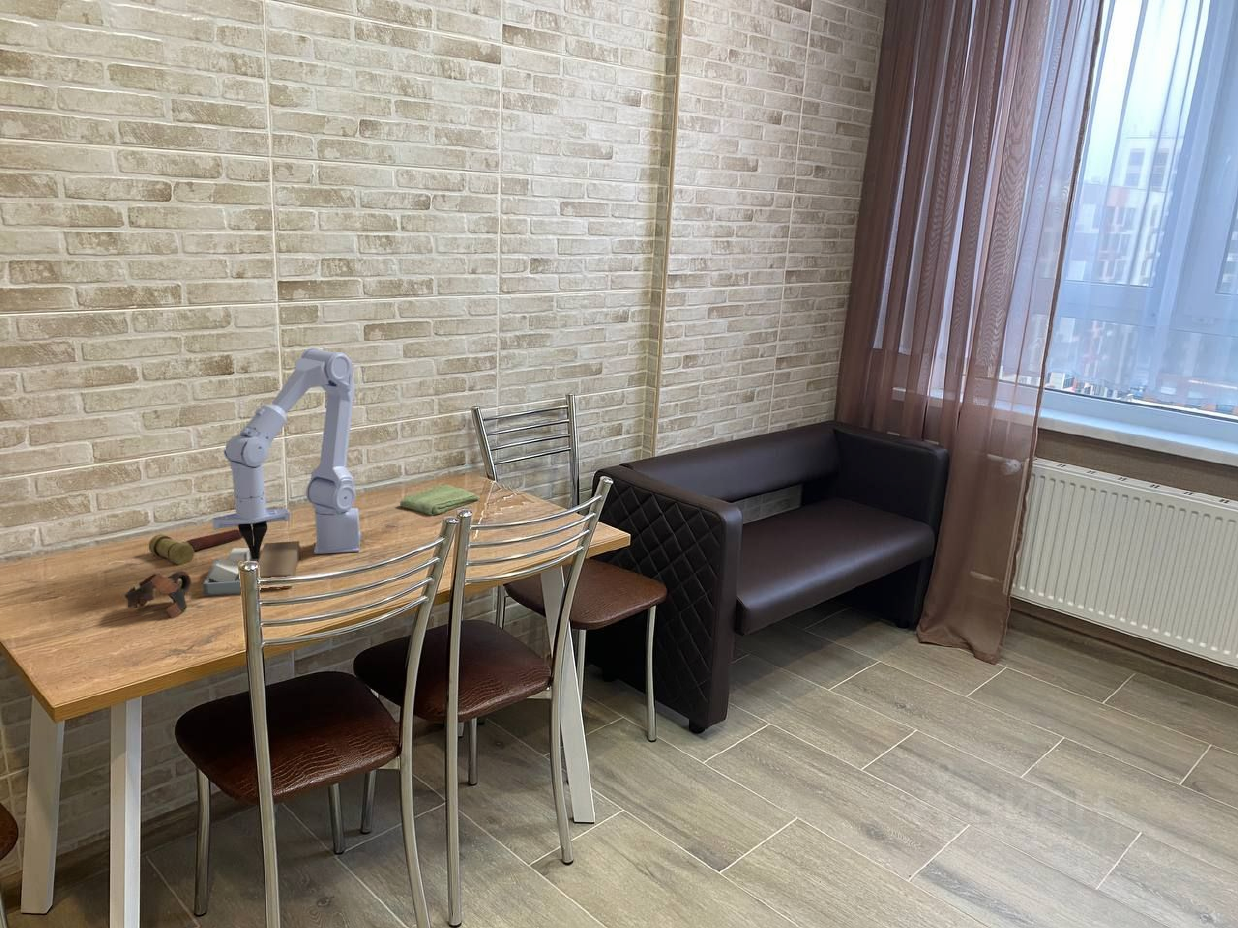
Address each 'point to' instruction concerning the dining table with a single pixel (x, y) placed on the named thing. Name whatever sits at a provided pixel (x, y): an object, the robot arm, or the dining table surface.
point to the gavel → (188, 545)
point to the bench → (279, 560)
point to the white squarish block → (224, 571)
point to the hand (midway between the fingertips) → (255, 557)
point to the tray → (222, 584)
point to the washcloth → (438, 500)
